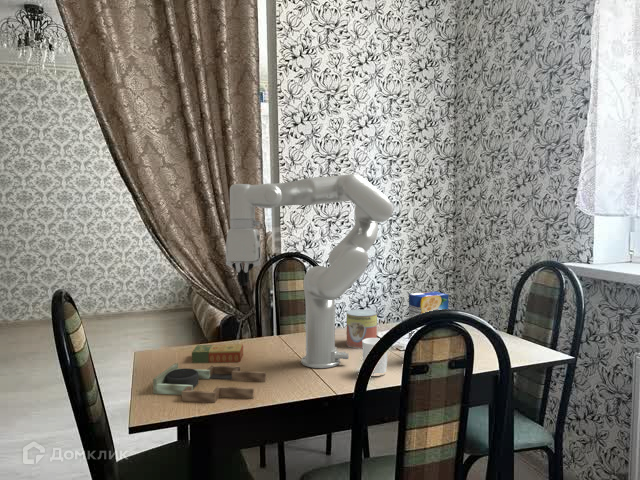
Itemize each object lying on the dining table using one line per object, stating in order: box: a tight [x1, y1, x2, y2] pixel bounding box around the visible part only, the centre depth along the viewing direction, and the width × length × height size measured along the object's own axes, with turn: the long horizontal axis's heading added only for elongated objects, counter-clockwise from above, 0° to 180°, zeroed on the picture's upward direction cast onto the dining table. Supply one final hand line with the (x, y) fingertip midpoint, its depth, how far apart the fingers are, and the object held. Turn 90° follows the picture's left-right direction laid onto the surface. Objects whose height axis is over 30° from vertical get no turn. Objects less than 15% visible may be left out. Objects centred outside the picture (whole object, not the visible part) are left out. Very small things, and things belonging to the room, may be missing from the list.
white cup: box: [362, 337, 389, 374], centre depth 153 cm, size 8×8×10 cm
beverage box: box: [408, 291, 449, 339], centre depth 166 cm, size 7×11×22 cm, turn 116°
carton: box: [191, 343, 244, 364], centre depth 169 cm, size 8×16×4 cm, turn 92°
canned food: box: [345, 308, 378, 349], centre depth 186 cm, size 11×11×12 cm
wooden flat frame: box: [152, 363, 267, 403], centre depth 142 cm, size 28×22×4 cm
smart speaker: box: [166, 367, 200, 388], centre depth 143 cm, size 9×9×4 cm
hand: (243, 284), depth 153 cm, fingers closed
